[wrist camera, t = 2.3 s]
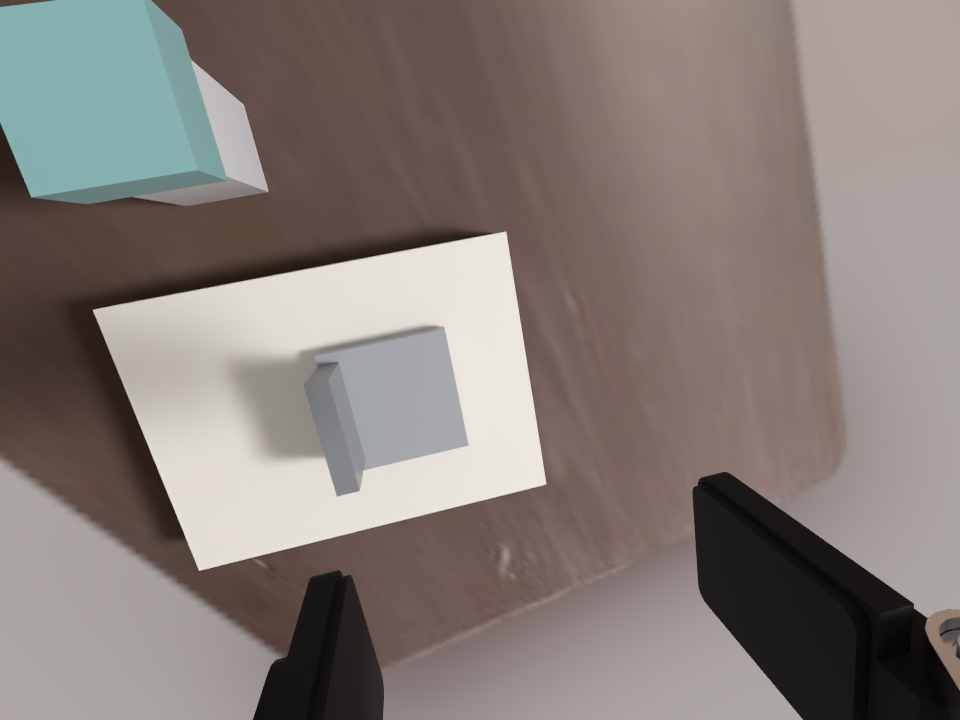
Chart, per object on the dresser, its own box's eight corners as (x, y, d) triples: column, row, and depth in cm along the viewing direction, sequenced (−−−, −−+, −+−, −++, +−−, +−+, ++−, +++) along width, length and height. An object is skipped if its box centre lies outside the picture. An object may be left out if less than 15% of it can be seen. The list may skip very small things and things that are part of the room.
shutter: (443, 326, 23) (450, 341, 19) (466, 439, 25) (477, 473, 21) (317, 352, 22) (300, 373, 19) (349, 466, 24) (339, 506, 20)
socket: (494, 233, 25) (506, 231, 23) (532, 460, 29) (546, 484, 26) (131, 301, 24) (92, 309, 21) (221, 536, 27) (199, 570, 24)
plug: (249, 94, 22) (140, -11, 13) (278, 198, 23) (197, 170, 14) (144, 110, 22) (-46, 12, 13) (180, 215, 23) (31, 197, 14)
